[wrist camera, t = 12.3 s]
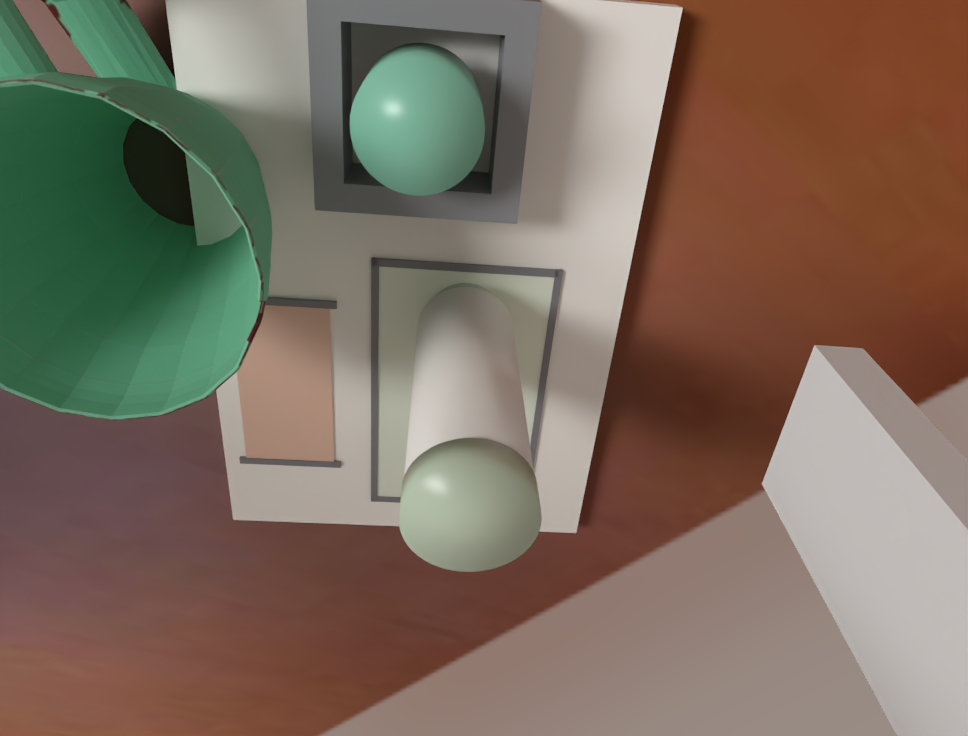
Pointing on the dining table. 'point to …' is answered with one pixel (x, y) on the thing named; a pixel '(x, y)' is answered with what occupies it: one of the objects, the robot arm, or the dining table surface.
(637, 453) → the dining table surface
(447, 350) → the marker
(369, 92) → the button
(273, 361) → the board
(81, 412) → the mug
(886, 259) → the dining table surface
